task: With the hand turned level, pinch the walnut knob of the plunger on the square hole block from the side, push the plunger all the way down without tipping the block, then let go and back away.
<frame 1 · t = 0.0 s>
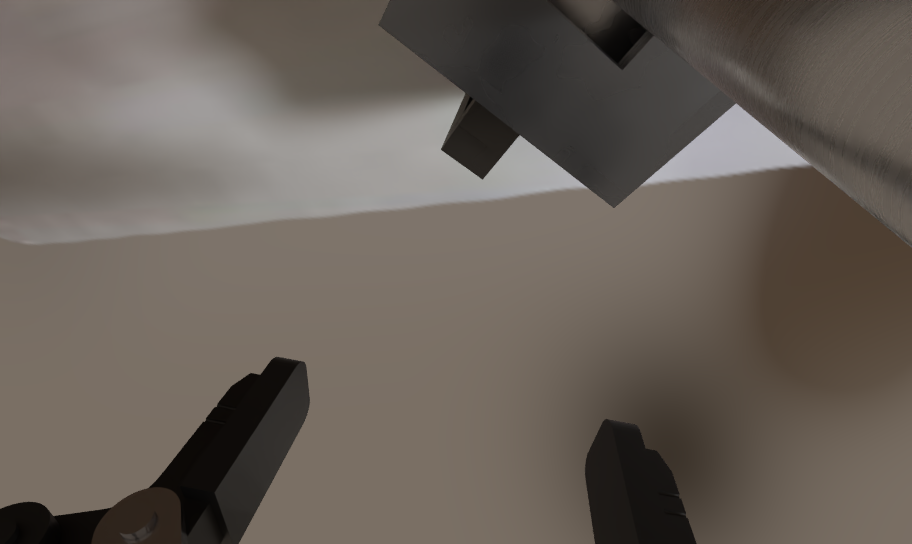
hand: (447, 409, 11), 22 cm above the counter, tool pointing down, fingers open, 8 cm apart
plunger: (726, 11, 5), point 22 cm above the counter, slide at 0.0 cm
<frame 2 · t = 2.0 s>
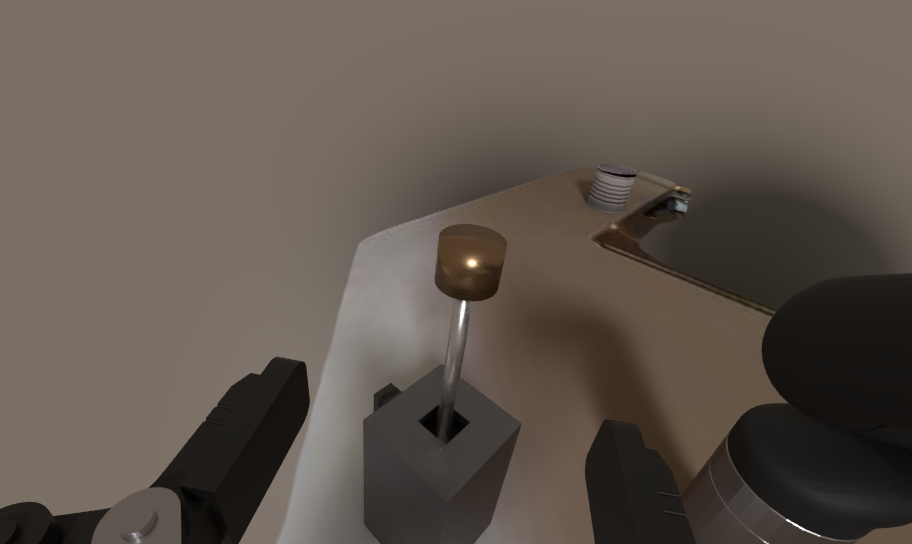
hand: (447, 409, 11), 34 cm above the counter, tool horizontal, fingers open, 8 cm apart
can: (604, 206, 123), on the counter
plunger: (453, 364, 29), point 22 cm above the counter, slide at 0.0 cm
square hole block: (428, 523, 41), on the counter
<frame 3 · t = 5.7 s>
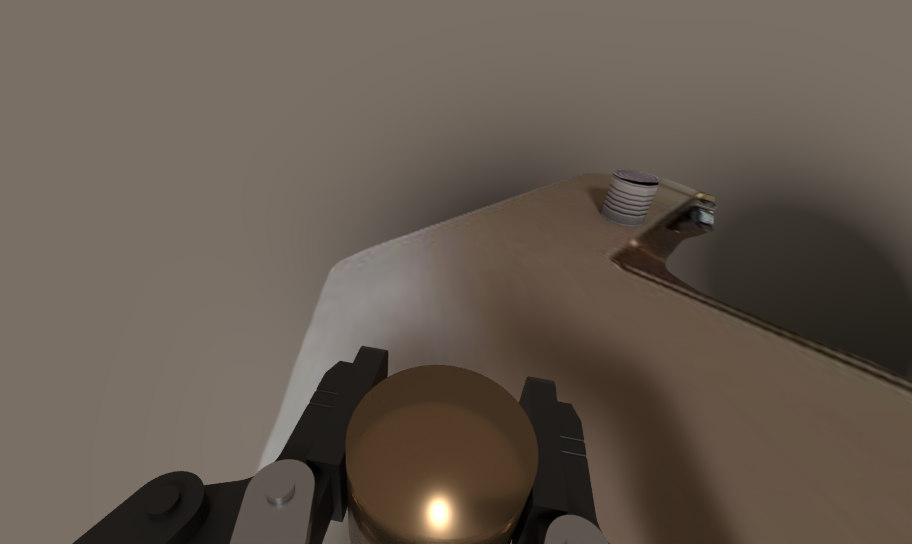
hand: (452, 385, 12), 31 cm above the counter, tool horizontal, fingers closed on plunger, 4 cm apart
can: (621, 218, 108), on the counter
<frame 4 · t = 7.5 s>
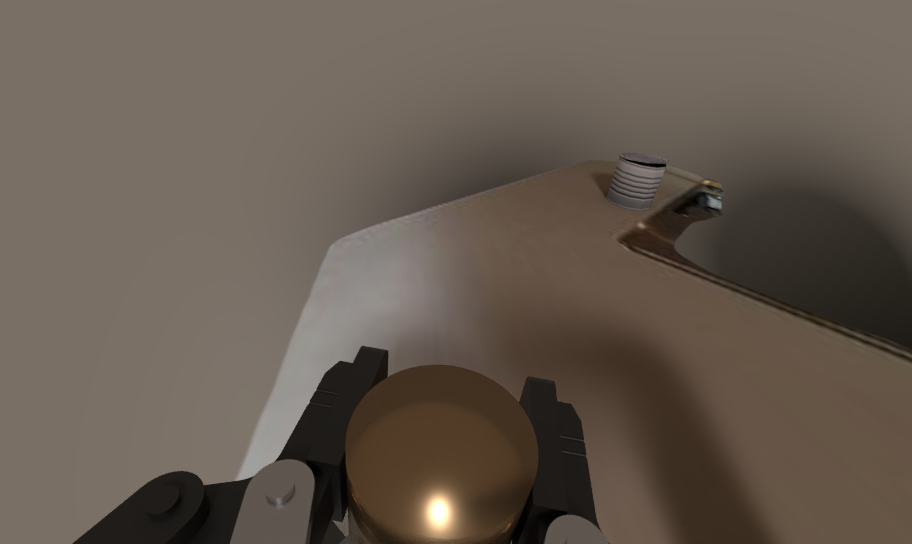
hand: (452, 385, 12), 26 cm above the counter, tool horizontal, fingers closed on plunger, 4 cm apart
can: (627, 202, 106), on the counter
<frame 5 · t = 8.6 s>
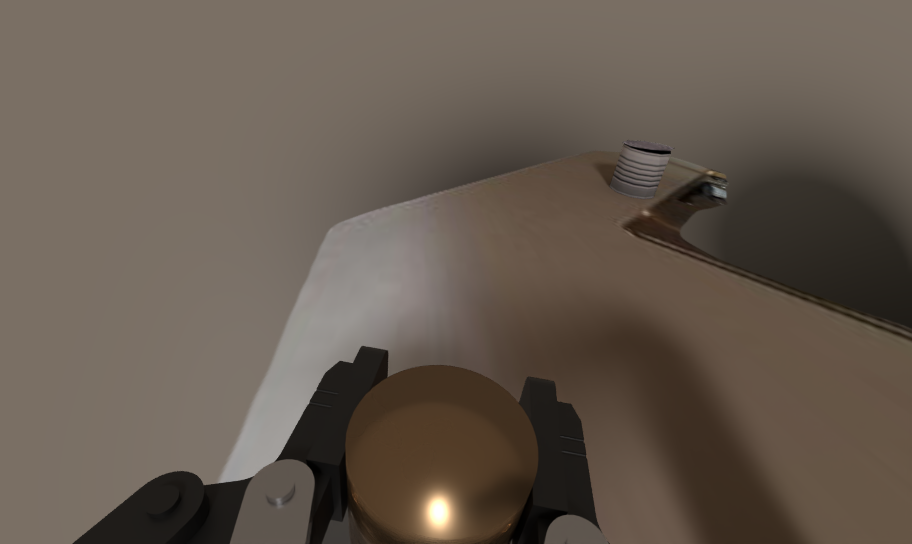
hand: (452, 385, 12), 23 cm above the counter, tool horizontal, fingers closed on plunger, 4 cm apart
can: (631, 191, 104), on the counter
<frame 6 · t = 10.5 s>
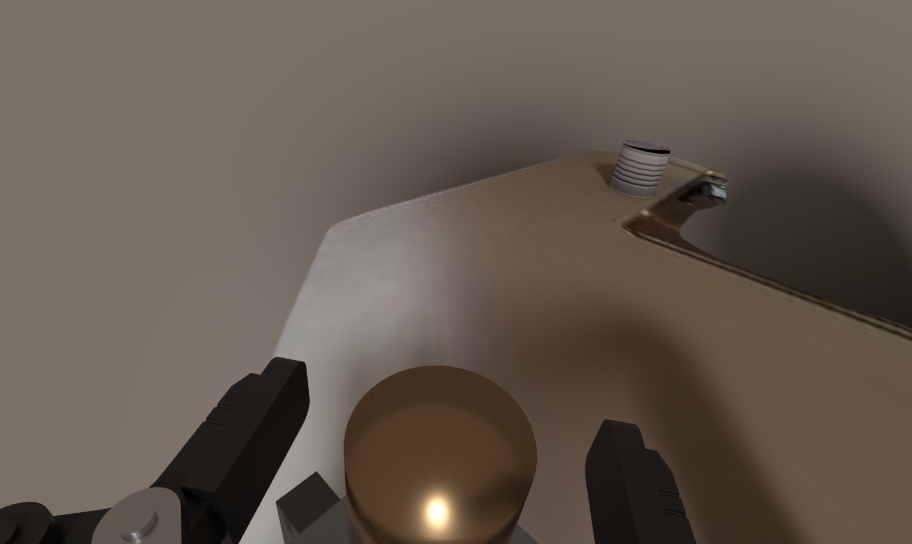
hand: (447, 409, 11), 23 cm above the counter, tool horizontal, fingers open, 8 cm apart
can: (630, 190, 104), on the counter
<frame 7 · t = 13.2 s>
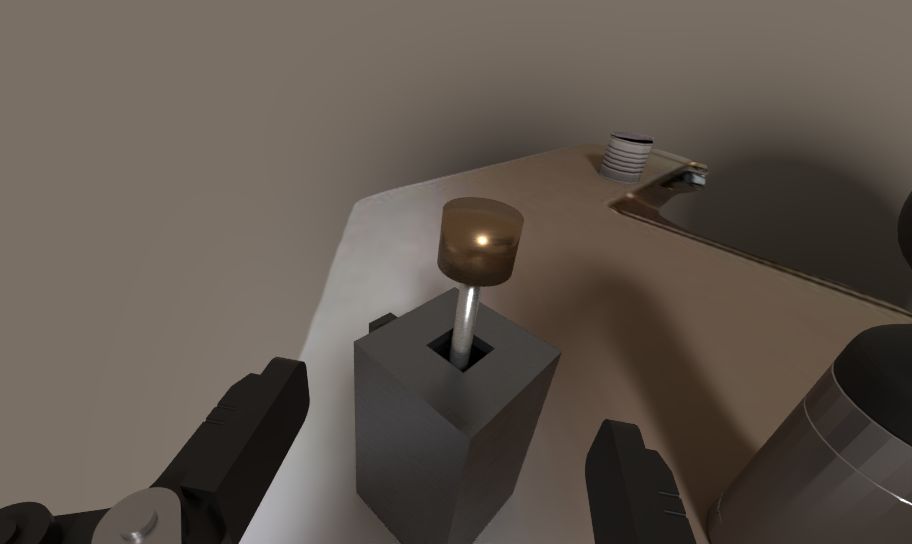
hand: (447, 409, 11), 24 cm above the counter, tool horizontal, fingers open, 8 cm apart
can: (618, 177, 116), on the counter
plunger: (458, 362, 25), point 15 cm above the counter, slide at 7.7 cm
square hole block: (436, 493, 33), on the counter
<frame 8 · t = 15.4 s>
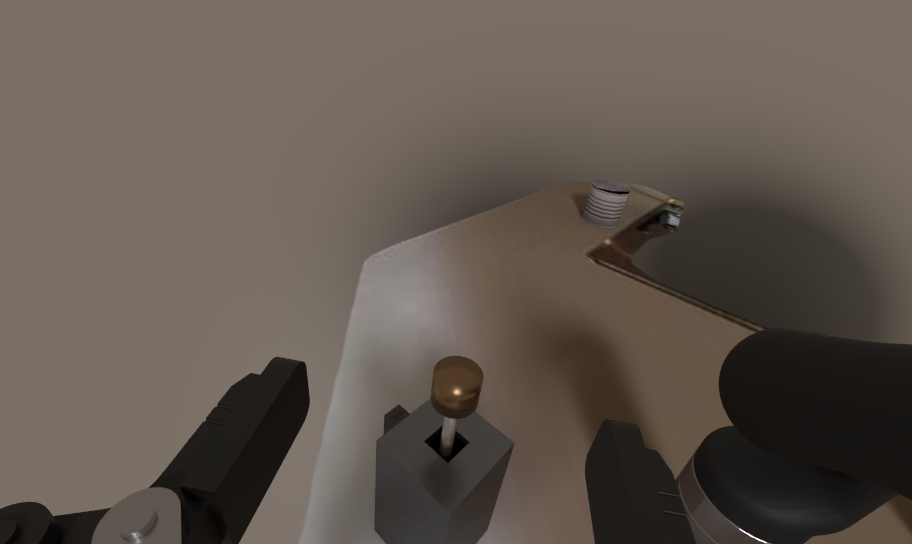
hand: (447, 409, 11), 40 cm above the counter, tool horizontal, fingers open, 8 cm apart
can: (599, 221, 128), on the counter
plunger: (445, 450, 38), point 15 cm above the counter, slide at 7.7 cm
square hole block: (431, 529, 46), on the counter
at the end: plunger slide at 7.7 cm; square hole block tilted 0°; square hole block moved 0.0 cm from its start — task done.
